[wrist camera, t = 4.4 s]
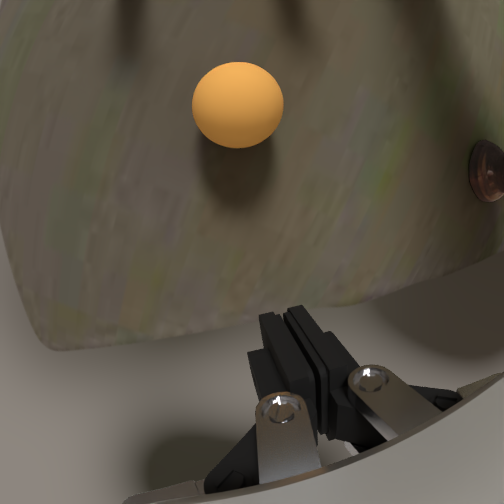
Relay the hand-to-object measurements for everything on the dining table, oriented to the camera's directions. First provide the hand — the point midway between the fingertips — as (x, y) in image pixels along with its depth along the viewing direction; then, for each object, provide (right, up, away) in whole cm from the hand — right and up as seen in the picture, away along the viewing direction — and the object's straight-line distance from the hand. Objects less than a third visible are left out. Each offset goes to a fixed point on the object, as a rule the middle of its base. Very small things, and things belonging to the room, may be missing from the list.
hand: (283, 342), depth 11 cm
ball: (-2, +13, +7) cm, 15 cm away
